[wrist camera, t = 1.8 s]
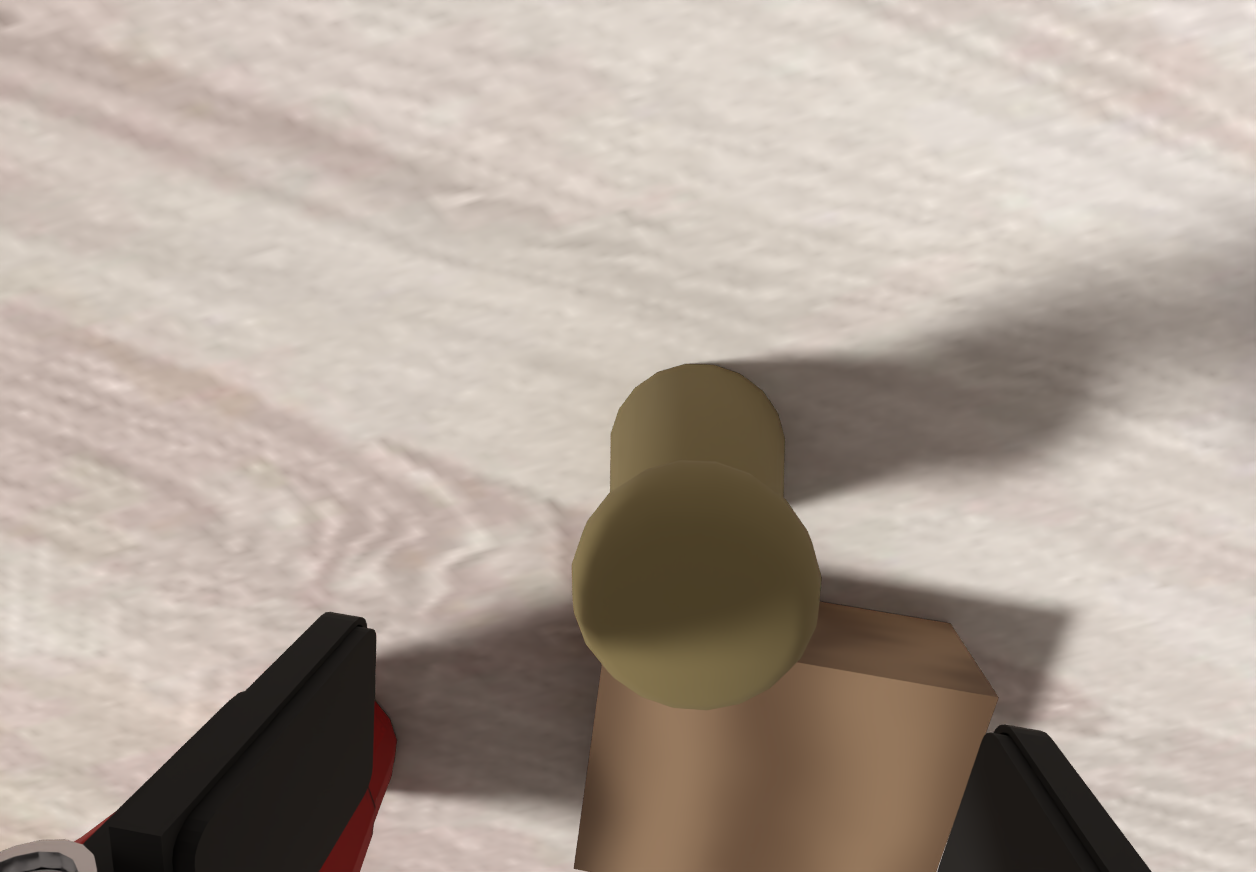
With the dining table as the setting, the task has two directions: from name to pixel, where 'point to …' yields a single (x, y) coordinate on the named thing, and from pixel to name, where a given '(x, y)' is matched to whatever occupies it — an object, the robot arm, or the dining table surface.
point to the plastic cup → (357, 835)
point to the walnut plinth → (795, 760)
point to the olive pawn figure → (696, 546)
